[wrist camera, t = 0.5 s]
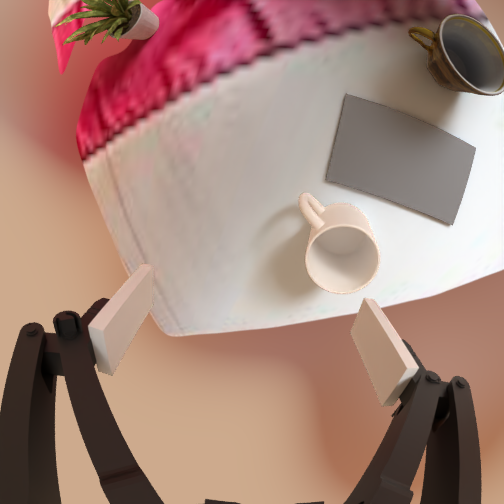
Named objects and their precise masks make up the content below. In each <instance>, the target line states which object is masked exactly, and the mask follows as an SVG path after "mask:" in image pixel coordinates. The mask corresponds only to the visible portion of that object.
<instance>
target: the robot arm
mask: <svg viewBox="0 0 504 504" xmlns="http://www.w3.org/2000/svg"><path fill="white" fill-rule="evenodd" d="M153 286H154V266H153V265H148V264H143V263H142V264H141V265H140V266H139V267H138V269H137V270H136V271H135V272H134V273H133V274H132V275H131V276H130V277H129V279H128V280H127V281H126V282H125V283H124V284H123V285H122V286H121V287H120V289H119V290H118V291H117V292H116V293H115V294H114V296H113V297H112V298H111V299H106V298H102V299H100V300H98V301H96V302H95V303H94V304H93V305H92V306H91V308H89V309H88V310H87V313H85V314H84V315H83V316H82V317H81V318H80V316H79V314H78V313H76V312H73V311H63V312H60V313H58V314H57V315H56V316H55V317H54V318H53V324H54V328H55V331H56V333H46V332H45V331H44V328H43V326H42V325H41V324H38V323H35V322H34V323H29V324H26V325H24V326H23V327H22V329H21V330H20V333H19V336H18V339H17V342H16V345H15V349H14V352H13V356H12V359H11V363H10V367H9V371H8V375H7V379H6V384H5V388H4V394H3V399H2V405H1V411H0V504H61V498H60V491H59V484H58V476H57V468H56V467H57V466H56V452H55V396H56V381H57V375H60V376H65V381H66V385H67V389H68V393H69V397H70V400H71V404H72V407H73V411H74V414H75V417H76V420H77V423H78V426H79V429H80V432H81V435H82V438H83V440H84V443H85V446H86V448H87V451H88V453H89V455H90V458H91V460H92V463H93V465H94V467H95V470H96V472H97V474H98V476H99V479H100V484H101V487H102V489H103V491H104V493H105V495H106V497H107V499H108V501H109V503H110V504H164V503H163V501H162V500H161V498H160V497H159V496H158V494H157V493H156V491H155V490H154V488H153V487H152V485H151V483H150V482H149V480H148V479H147V477H146V476H145V474H144V473H143V471H142V470H141V468H140V467H139V466H138V464H137V462H136V460H135V458H134V457H133V455H132V453H131V451H130V449H129V447H128V445H127V443H126V441H125V440H124V438H123V436H122V434H121V431H120V430H119V427H118V425H117V423H116V421H115V419H114V416H113V414H112V412H111V410H110V407H109V405H108V403H107V400H106V398H105V395H104V393H103V390H102V388H101V385H100V382H99V380H98V377H97V374H96V371H95V368H94V366H95V364H97V368H98V371H99V372H102V373H105V374H108V375H111V376H113V374H114V372H115V370H116V368H117V366H118V365H119V363H120V361H121V359H122V357H123V356H124V354H125V352H126V350H127V349H128V347H129V345H130V343H131V342H132V340H133V338H134V336H135V335H136V333H137V331H138V330H139V328H140V326H141V325H142V323H143V321H144V319H145V318H146V316H147V314H148V313H149V311H150V309H151V308H152V306H153V305H154V294H153ZM350 334H351V336H352V338H353V340H354V342H355V345H356V347H357V349H358V351H359V354H360V356H361V358H362V361H363V363H364V365H365V367H366V370H367V372H368V374H369V377H370V379H371V382H372V384H373V386H374V389H375V391H376V393H377V396H378V399H379V401H380V404H381V406H392V405H394V404H395V402H396V401H397V400H398V398H400V400H401V404H400V405H399V407H398V408H397V409H396V411H395V412H394V413H393V414H392V417H393V416H394V418H393V420H392V422H391V424H390V426H389V428H388V430H387V432H386V434H385V436H384V438H383V440H382V442H381V444H380V446H379V448H378V450H377V452H376V454H375V456H374V457H373V459H372V461H371V463H370V465H369V466H368V468H367V469H366V471H365V473H364V475H363V476H362V478H361V479H360V481H359V482H358V484H357V486H356V487H355V489H354V490H353V492H352V493H351V495H350V496H349V497H348V499H347V500H346V502H345V503H344V504H410V502H411V500H412V497H413V491H410V487H411V484H412V482H413V480H414V477H415V475H416V472H417V469H418V467H419V464H420V461H421V459H422V456H423V453H424V450H425V447H426V444H427V447H426V463H425V472H424V482H423V489H422V496H421V502H420V504H481V460H480V447H479V438H478V430H477V423H476V417H475V411H474V405H473V400H472V395H471V390H470V386H469V384H468V382H467V381H466V380H465V379H464V378H463V377H460V376H455V377H453V378H452V380H451V381H450V383H448V382H443V381H441V379H440V377H439V376H438V375H437V374H436V373H434V372H432V371H426V369H425V368H424V366H423V365H422V363H421V362H420V360H419V359H418V357H417V356H416V354H415V352H413V349H412V348H411V346H410V345H409V344H408V343H407V342H406V341H405V340H403V339H401V338H400V337H399V335H398V334H397V332H396V331H395V329H394V328H393V326H392V325H391V323H390V322H389V320H388V319H387V317H386V316H385V314H384V313H383V312H382V310H381V309H380V307H379V306H378V304H377V303H376V301H375V300H374V299H368V298H364V299H363V302H362V304H361V307H360V310H359V312H358V315H357V317H356V320H355V322H354V324H353V327H352V329H351V332H350ZM205 504H239V503H236V502H225V501H217V500H209V499H205ZM297 504H324V502H311V503H297Z"/></svg>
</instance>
